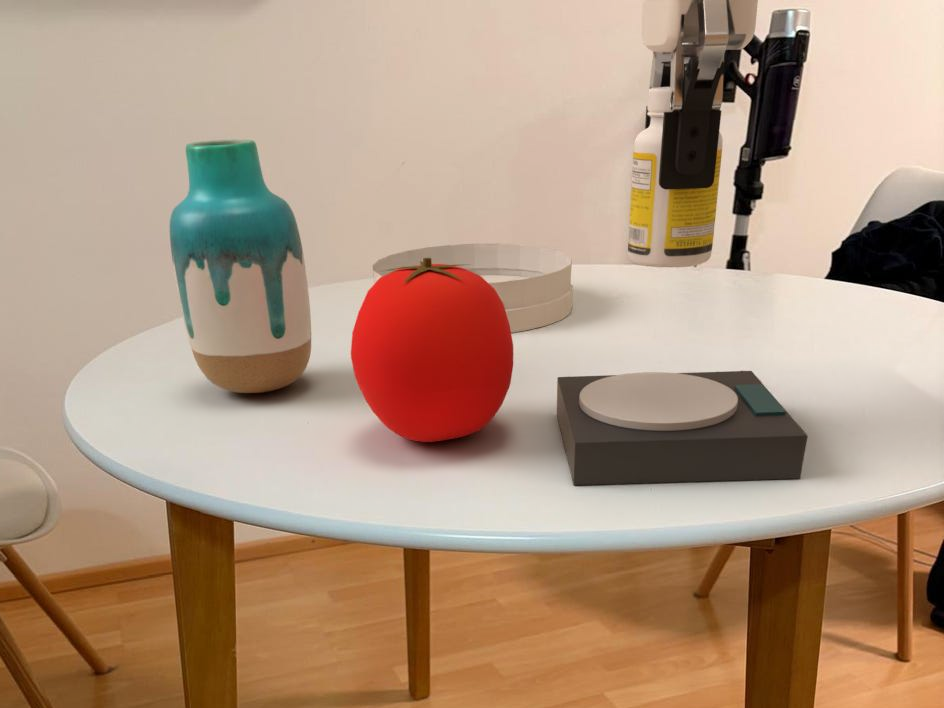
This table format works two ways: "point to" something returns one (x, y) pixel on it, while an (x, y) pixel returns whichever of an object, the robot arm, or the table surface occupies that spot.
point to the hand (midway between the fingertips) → (676, 178)
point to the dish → (505, 277)
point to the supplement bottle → (667, 203)
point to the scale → (676, 428)
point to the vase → (240, 272)
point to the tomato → (432, 351)
